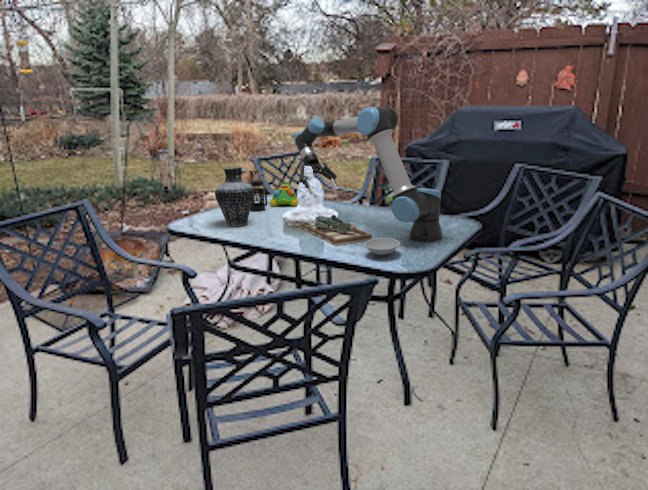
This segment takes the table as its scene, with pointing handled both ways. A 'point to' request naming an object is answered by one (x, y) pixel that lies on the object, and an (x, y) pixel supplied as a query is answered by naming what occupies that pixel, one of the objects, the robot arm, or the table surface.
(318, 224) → the hoverbike
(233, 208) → the jug
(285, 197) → the turtle toy
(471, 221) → the table surface
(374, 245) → the dish
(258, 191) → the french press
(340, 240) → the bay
